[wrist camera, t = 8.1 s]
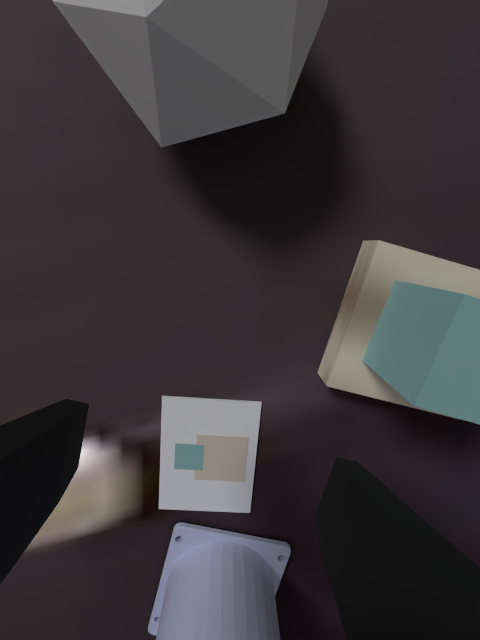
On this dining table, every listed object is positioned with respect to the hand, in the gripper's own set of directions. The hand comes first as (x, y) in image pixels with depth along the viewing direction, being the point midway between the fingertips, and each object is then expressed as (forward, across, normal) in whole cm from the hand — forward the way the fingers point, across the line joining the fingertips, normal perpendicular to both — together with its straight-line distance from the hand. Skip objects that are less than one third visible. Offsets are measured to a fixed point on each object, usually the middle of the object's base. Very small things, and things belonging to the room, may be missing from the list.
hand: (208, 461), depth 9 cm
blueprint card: (+10, -1, +7) cm, 12 cm away
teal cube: (+8, -10, -4) cm, 13 cm away
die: (+10, +4, -14) cm, 18 cm away
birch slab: (+10, -10, -4) cm, 15 cm away
